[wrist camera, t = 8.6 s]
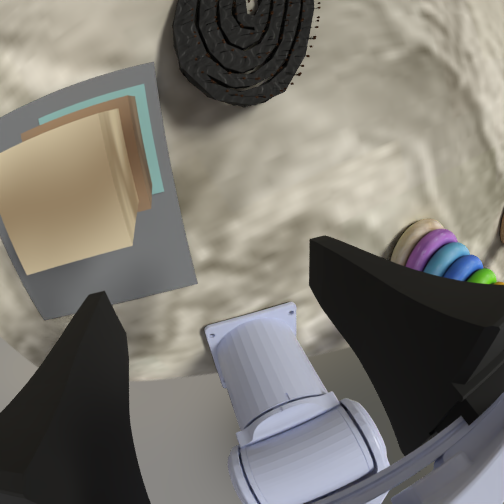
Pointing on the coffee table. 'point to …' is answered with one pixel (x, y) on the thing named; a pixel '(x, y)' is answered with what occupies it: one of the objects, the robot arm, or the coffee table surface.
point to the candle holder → (502, 230)
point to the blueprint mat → (147, 222)
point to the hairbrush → (241, 46)
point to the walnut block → (130, 136)
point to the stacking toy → (439, 254)
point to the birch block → (69, 193)
